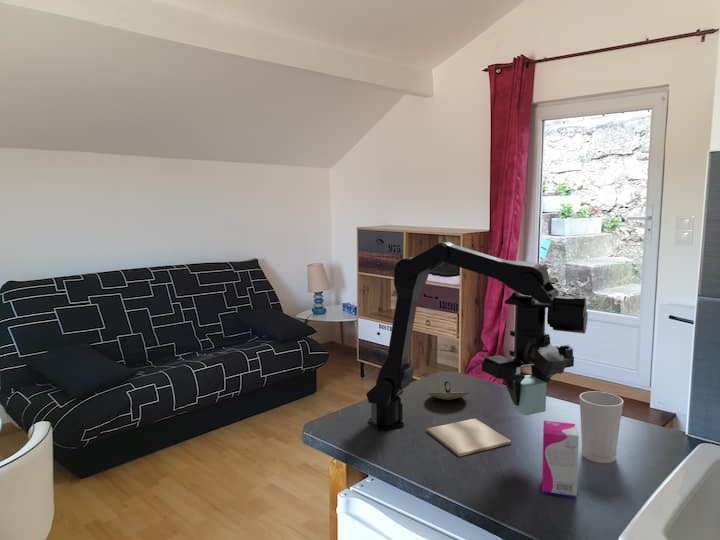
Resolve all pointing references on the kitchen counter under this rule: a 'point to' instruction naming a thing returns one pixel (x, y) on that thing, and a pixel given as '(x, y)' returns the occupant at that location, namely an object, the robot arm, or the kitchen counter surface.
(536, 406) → the teal block
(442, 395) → the lid
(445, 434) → the pad
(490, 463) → the kitchen counter surface
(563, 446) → the supplement box
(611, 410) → the cup
